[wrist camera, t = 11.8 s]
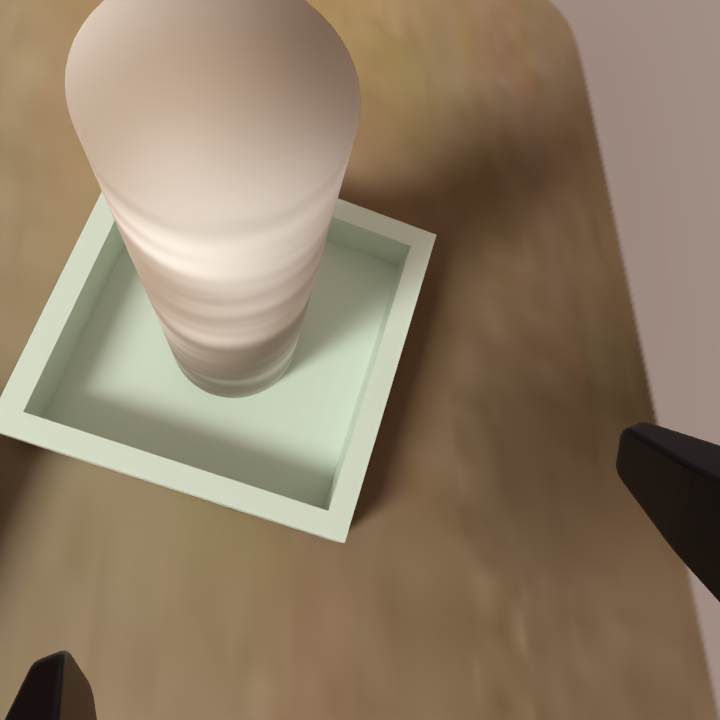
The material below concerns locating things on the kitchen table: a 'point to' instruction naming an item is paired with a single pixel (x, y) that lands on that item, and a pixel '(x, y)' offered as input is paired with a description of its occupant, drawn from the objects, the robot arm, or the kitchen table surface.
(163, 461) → the tray
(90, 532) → the kitchen table surface
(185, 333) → the peg
